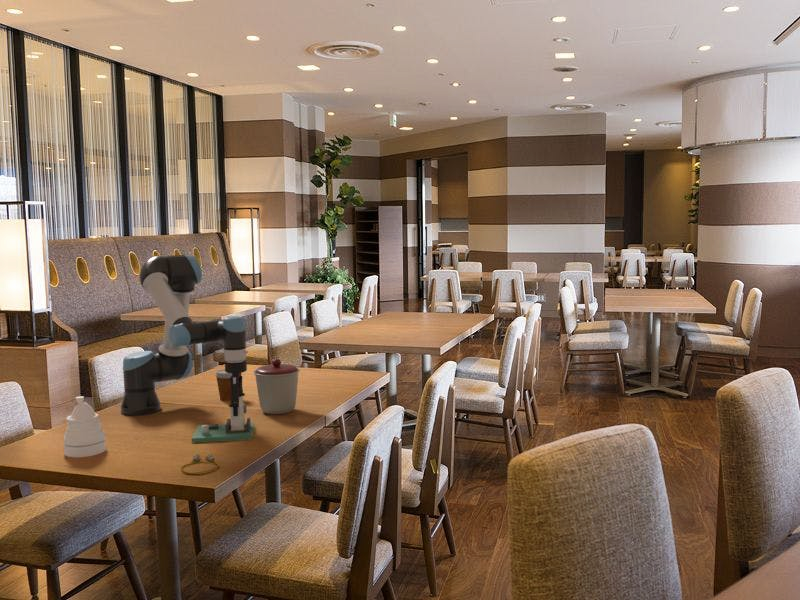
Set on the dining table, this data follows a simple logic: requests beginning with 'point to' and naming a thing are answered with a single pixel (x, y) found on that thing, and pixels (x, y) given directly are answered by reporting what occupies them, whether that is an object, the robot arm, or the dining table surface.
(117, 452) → the dining table surface
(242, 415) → the plug
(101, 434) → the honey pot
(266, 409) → the canister
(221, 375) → the disposable coffee cup
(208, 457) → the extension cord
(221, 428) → the board
